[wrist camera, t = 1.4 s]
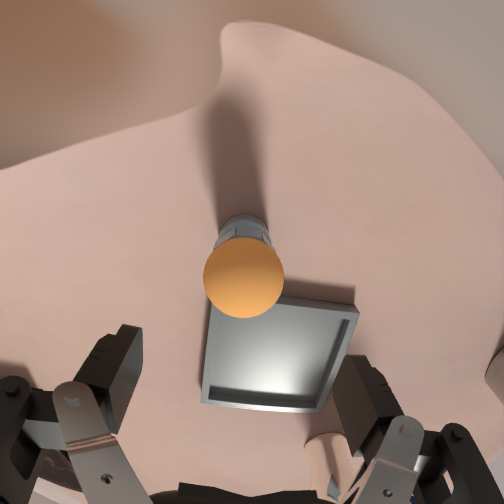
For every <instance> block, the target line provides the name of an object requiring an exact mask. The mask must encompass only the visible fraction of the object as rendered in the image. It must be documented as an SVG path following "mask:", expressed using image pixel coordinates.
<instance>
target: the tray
mask: <svg viewBox="0 0 504 504" xmlns="http://www.w3.org/2000/svg"><path fill="white" fill-rule="evenodd" d="M359 315H360V313H359V311H358V309H357V308H356V306H355V305H352V304H344V303H335V302H327V301H318V300H310V299H303V298H295V297H287V296H279V298H278V300H277V301H276V303H275V304H274V305H273V306H272V307H271V308H270V309H268V310H267V311H266V312H264V313H262V314H260V315H258V316H255V317H250V318H237V317H233V316H230V315H227V314H225V313H223V312H222V311H220V310H219V309H218V308H216V307H215V306H214V305H213V303H212V306H211V314H210V322H209V330H208V338H207V347H206V356H205V364H204V373H203V383H202V392H201V402H200V403H204V404H211V405H219V406H226V407H235V408H244V409H254V410H265V411H279V412H298V413H320V412H321V410H322V408H323V406H324V404H325V401H326V399H327V397H328V394H329V392H330V390H331V387H332V385H333V383H334V380H335V378H336V376H337V373H338V371H339V368H340V366H341V363H342V361H343V358H344V356H345V353H346V350H347V348H348V345H349V342H350V340H351V337H352V334H353V332H354V329H355V326H356V323H357V320H358V318H359Z"/></svg>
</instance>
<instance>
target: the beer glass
mask: <svg viewBox="0 0 504 504" xmlns="http://www.w3.org/2000/svg"><path fill="white" fill-rule="evenodd" d="M305 453H306V455H307V458H308V460H309V463H310V466H311V490H316V491H317V496H318V498H319V499H324V500H328V501H331V502H333V503H336V504H338V503H339V502H340V500H341V499H342V497H343V496H344V494H345V493H346V491H347V489H348V488H349V486H350V484H351V482H352V481H353V479H354V477H355V475H356V472H355V471H354V469H353V467H352V465H351V463H350V461H349V458H348V454H347V443H346V438H345V437H344V436H343V435H342V434H340V433H324V434H321V435H318V436H316V437H314V438H312V439H311V440H309V441H308V442H307V443H306V445H305Z"/></svg>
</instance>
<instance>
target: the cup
mask: <svg viewBox="0 0 504 504" xmlns="http://www.w3.org/2000/svg"><path fill="white" fill-rule="evenodd" d="M242 237H246V238H253V239H256V240H259V241H261V242H263V243H265V244H266V245H268V246H269V247H270V248H271V249H272V250H273V251H274V252H275V253H276V250H275V248H274V247H273V246H272V244H271V240H270V236H269V233H268V229H267V227H266V226H265V224H264V223H263V222H262V221H261V220H260V219H259V218H257V217H255V216H253V215H249V214H240V215H236V216H234V217H232V218H230V219H229V220H227V221H226V222H225V224H224V225H223V227H222V229H221V231H220V235H219V238H218V240H217V241H216V243H215V246H214V249H213V251H214V250H215V249H216V248H217V247H218V246H220V245H221V244H223V243H224V242H226V241H228V240H231V239H234V238H242Z"/></svg>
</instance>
